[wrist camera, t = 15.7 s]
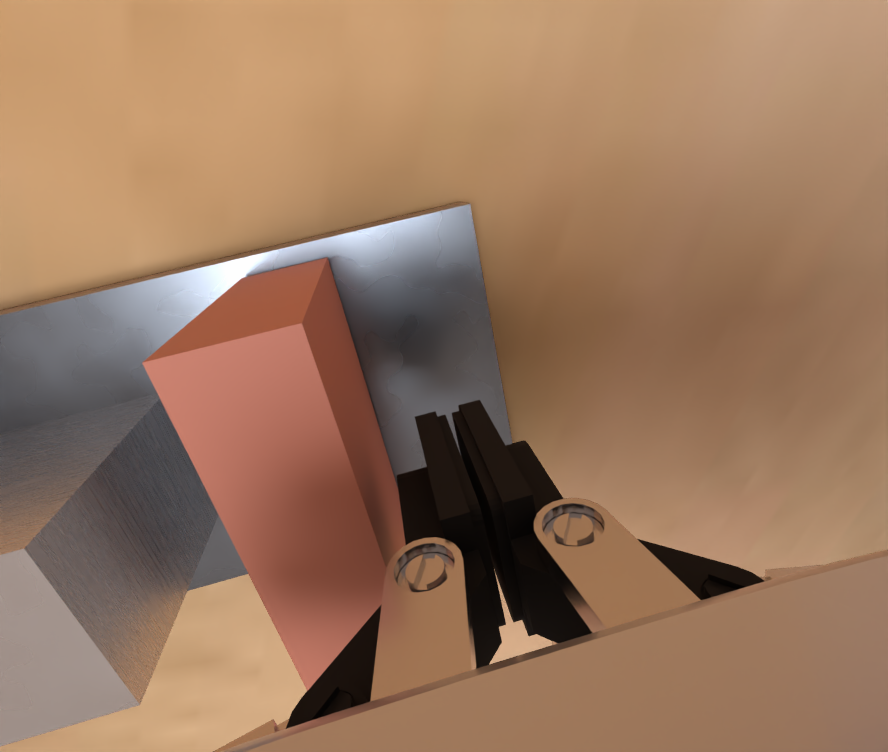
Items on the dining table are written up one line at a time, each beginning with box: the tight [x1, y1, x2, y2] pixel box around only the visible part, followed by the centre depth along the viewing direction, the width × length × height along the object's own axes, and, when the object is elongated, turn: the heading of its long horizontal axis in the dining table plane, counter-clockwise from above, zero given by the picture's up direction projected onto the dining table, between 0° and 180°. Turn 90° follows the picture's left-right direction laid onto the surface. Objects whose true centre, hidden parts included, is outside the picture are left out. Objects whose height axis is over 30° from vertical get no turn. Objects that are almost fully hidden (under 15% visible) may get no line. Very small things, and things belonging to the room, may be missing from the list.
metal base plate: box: [0, 202, 512, 591], centre depth 13 cm, size 11×22×8 cm, turn 103°
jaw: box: [142, 257, 406, 691], centre depth 13 cm, size 10×3×7 cm, turn 13°
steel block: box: [0, 393, 219, 746], centre depth 12 cm, size 4×7×7 cm, turn 103°
